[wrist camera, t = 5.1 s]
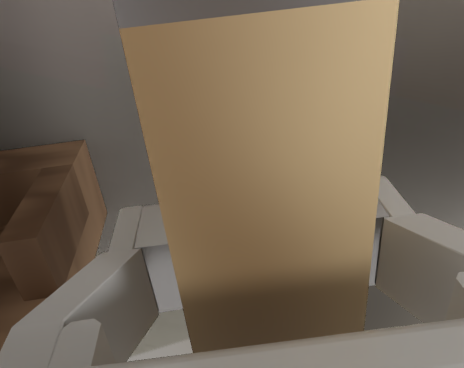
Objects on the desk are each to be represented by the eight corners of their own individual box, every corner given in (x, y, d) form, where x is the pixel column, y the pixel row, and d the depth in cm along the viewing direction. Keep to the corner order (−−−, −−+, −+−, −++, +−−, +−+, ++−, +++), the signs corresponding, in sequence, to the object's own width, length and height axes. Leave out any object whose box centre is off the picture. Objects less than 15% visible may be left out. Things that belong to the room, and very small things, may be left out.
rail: (297, -120, 8) (419, -192, 4) (302, 329, 15) (346, 492, 10) (142, -103, 8) (76, -154, 4) (218, 340, 15) (228, 507, 10)
